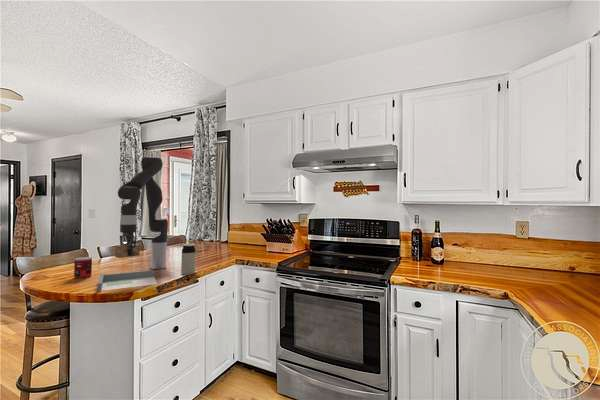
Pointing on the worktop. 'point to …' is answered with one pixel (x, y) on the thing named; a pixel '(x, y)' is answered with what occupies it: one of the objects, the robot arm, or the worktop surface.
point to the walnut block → (126, 251)
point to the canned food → (82, 267)
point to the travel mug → (188, 259)
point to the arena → (126, 280)
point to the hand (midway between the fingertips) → (127, 255)
